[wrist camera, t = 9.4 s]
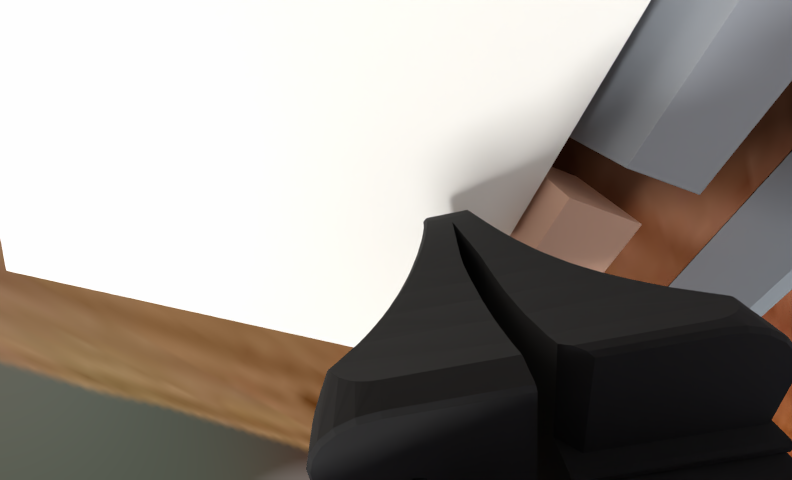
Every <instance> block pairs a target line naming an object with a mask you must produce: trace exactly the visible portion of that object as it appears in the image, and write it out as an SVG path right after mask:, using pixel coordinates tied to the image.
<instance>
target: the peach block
mask: <svg viewBox="0 0 792 480" xmlns="http://www.w3.org/2000/svg"><path fill="white" fill-rule="evenodd" d="M641 225H642V224H641V223H639V222H638V221H637V220H635V219H634V218H633V217H631V216H630V215H628V214H627V213H626V212H624V211H623V210H622V209H620V208H619V207H618V206H616V205H615V204H613V203H612V202H611V201H609V200H608V199H607V198H605V197H604V196H603V195H601V194H600V193H598V192H597V191H596V190H594V189H593V188H592V187H590V186H589V185H588V184H586V183H585V182H583V181H582V180H581V179H579V178H578V177H577V176H574V175H571V174H569V173H566V172H564V171H561V170H558V169H556V168H553V167H551V168H550V170H549V171H548V173H547V175H546V176H545V178H544V180H543V181H542V183H541V185H540V186H539V188H538V190H537V191H536V193H535V195H534V196H533V198H532V200H531V201H530V203H529V205H528V206H527V208H526V210H525V211H524V213H523V215H522V216H521V218H520V220H519V221H518V223H517V225H516V226H515V228H514V230H513V231H512V233H511V235H510V236H511V237H512V238H514V239H516V240H518V241H520V242H522V243H524V244H526V245H528V246H530V247H532V248H534V249H537V250H539V251H541V252H543V253H546V254H548V255H551V256H554V257H556V258H559V259H561V260H564V261H567V262H570V263H573V264H576V265H579V266H582V267H585V268H589V269H592V270H596V271H599V272H603V273H604V272H605V270H606V269H607V268H608V267H609V265H610V264H611V263H612V262H613V260H614V259H615V258H616V257H617V255H618V254H619V253H620V251H621V250H622V249H623V248H624V246H625V245H626V244H627V243H628V241H629V240H630V239H631V238H632V236H633V235H634V234H635V233H636V231H637V230H638V229H639V227H640V226H641Z"/></svg>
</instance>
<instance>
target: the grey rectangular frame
mask: <svg viewBox="0 0 792 480" xmlns="http://www.w3.org/2000/svg"><path fill="white" fill-rule="evenodd" d="M669 287H673V288H680V289H687V290H694V291H701V292H708V293H715V294H722V295H729V296H733V297H734V298H736V299H737V300H739V301H740V302H742V303H743V304H744V305H746V306H747V307H748V308H750V309H751V310H752V311H754V312H755V313H756V314H758V315H759V316H760V317H761V316H762V315H764V314H765V313H766V312H767V311H768V310H769V309H770V308H771V307H773V306H774V305H775V304H776V303H777V302H778V301H779V300H780V299H782V298H783V297H784V296H785V295H786V294H787V293H788V292H789V291H791V290H792V152H791V153H790V154H789V155H788V156H787V157H786V158H785V159H784V160H783V162H782V163H781V164H780V165H779V166H778V167H777V168H776V169H775V170H774V171H773V172H772V174H771V175H770V176H769V177H768V178H767V179H766V180H765V181H764V182H763V183H762V185H761V186H760V187H759V188H758V189H757V190H756V191H755V192H754V193H753V194H752V196H751V197H750V198H749V199H748V200H747V201H746V202H745V203H744V204H743V205H742V206H741V208H740V209H739V210H738V211H737V212H736V213H735V214H734V215H733V216H732V217H731V219H730V220H729V221H728V222H727V223H726V224H725V225H724V226H723V227H722V228H721V229H720V231H719V232H718V233H717V234H716V235H715V236H714V237H713V238H712V239H711V240H710V242H709V243H708V244H707V245H706V246H705V247H704V248H703V249H702V250H701V251H700V253H699V254H698V255H697V256H696V257H695V258H694V259H693V260H692V261H691V262H690V263H689V265H688V266H687V267H686V268H685V269H684V270H683V271H682V272H681V273H680V274H679V276H678V277H677V278H676V279H675V280H674V281H673V282H672V283H671V284H670V285H669Z"/></svg>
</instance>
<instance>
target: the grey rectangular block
mask: <svg viewBox="0 0 792 480" xmlns="http://www.w3.org/2000/svg"><path fill="white" fill-rule="evenodd" d="M791 81H792V0H651V1H650V3H649V4H648V6H647V8H646V9H645V11H644V13H643V14H642V16H641V18H640V19H639V21H638V23H637V24H636V26H635V28H634V29H633V31H632V33H631V34H630V36H629V38H628V39H627V41H626V43H625V44H624V46H623V48H622V49H621V51H620V53H619V54H618V56H617V58H616V59H615V61H614V63H613V64H612V66H611V68H610V69H609V71H608V73H607V74H606V76H605V78H604V79H603V81H602V83H601V84H600V86H599V88H598V89H597V91H596V93H595V94H594V96H593V98H592V99H591V101H590V103H589V104H588V106H587V108H586V110H585V111H584V113H583V115H582V116H581V118H580V120H579V121H578V123H577V125H576V126H575V128H574V130H573V131H572V133H571V135H570V136H569V137H570V138H572V139H574V140H576V141H577V142H579V143H581V144H583V145H585V146H587V147H589V148H590V149H592V150H594V151H596V152H598V153H600V154H601V155H603V156H605V157H607V158H609V159H611V160H612V161H614V162H616V163H618V164H620V165H622V166H624V167H625V168H628V169H630V170H633V171H636V172H639V173H641V174H644V175H647V176H650V177H652V178H655V179H658V180H660V181H663V182H666V183H669V184H671V185H674V186H677V187H680V188H682V189H685V190H688V191H691V192H693V193H696V194H699V195H700V194H701V193H702V191H703V190H704V189H705V188H706V186H707V185H708V184H709V183H710V181H711V180H712V179H713V178H714V176H715V175H716V174H717V173H718V171H719V170H720V169H721V168H722V167H723V165H724V164H725V163H726V162H727V160H728V159H729V158H730V157H731V155H732V154H733V153H734V152H735V150H736V149H737V148H738V147H739V145H740V144H741V143H742V142H743V140H744V139H745V138H746V137H747V136H748V134H749V133H750V132H751V131H752V129H753V128H754V127H755V126H756V124H757V123H758V122H759V121H760V119H761V118H762V117H763V116H764V114H765V113H766V112H767V111H768V109H769V108H770V107H771V106H772V104H773V103H774V102H775V101H776V100H777V98H778V97H779V96H780V95H781V93H782V92H783V91H784V90H785V88H786V87H787V86H788V85H789V83H790V82H791Z"/></svg>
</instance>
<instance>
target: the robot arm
mask: <svg viewBox="0 0 792 480" xmlns="http://www.w3.org/2000/svg"><path fill="white" fill-rule="evenodd" d="M423 224H424V229H423V235H422V240H421V244H420V247H419V250H418V253H417V256H416V259H415V261H414V264H413V266H412V268H411V271H410V273H409V275H408V277H407V279H406V281H405V283H404V285H403V287H402V288H401V290H400V292H399V293H398V295H397V297H396V298H395V300H394V301H393V303H392V304H391V306H390V307H389V309H388V310H387V311H386V313H385V314H384V315H383V317H382V318H381V319H380V320H379V321H378V323H377V324H376V325H375V326H374V327H373V328H372V329H371V331H370V332H369V333H368V334H367V335H366V336H365V337H364V338H363V339H362V340H361V341H360V342H359V343H358V344H357V345H356V346H355V347H354V348H353V349H352V350H351V351H349V352H348V353H347V354H346V355H345V356H344V357H343V358H342V359H341V360H339V361H338V362H337V363H336V364H335V365H334V366H332V367H331V368H330V369H329V370H328V371H327V374H326V377H325V380H324V383H323V386H322V389H321V392H320V396H319V400H318V403H317V406H316V409H315V414H314V418H313V423H312V430H311V438H310V445H309V453H308V461H307V467H306V470H307V472H308V475H309V478H310V480H792V457H791V456H790V455H789V454H788V453H787V452H790V451H791V450H792V440H791V439H790V438H789V437H788V436H787V435H786V434H785V433H784V432H783V431H782V430H781V429H780V428H779V427H778V426H777V425H776V424H775V423H774V422H773V421H772V418H773V416H774V414H775V413H776V411H777V409H778V407H779V405H780V404H781V402H782V400H783V398H784V396H785V395H786V393H787V391H788V389H789V387H790V386H791V384H792V342H791V341H790V339H789V338H788V337H787V336H786V335H785V334H784V333H782V332H781V331H779V330H778V329H777V328H775V327H774V326H773V325H771V324H770V323H769V322H767V321H766V320H765V319H763V318H762V317H760V316H759V315H758V314H756V313H755V312H754V311H752V310H751V309H750V308H748V307H747V306H746V305H744V304H743V303H742V302H740V301H739V300H737V299H736V298H734V297H733V296H729V295H722V294H715V293H708V292H701V291H694V290H687V289H680V288H673V287H666V286H661V285H656V284H651V283H646V282H641V281H636V280H631V279H627V278H622V277H618V276H614V275H610V274H606V273H603V272H599V271H596V270H592V269H589V268H585V267H582V266H579V265H576V264H573V263H570V262H567V261H564V260H561V259H559V258H556V257H554V256H551V255H548V254H546V253H543V252H541V251H539V250H537V249H534V248H532V247H530V246H528V245H526V244H524V243H522V242H520V241H518V240H516V239H514V238H512V237H511V236H509V235H507V234H505V233H503V232H502V231H500V230H498V229H497V228H495V227H493V226H492V225H490V224H489V223H487V222H485V221H484V220H482V219H481V218H479V217H478V216H476V215H475V214H473V213H472V212H470V211H468V210H464V211H459V212H454V213H449V214H444V215H439V216H434V217H429V218H426V219H425V220H424V222H423Z"/></svg>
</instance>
